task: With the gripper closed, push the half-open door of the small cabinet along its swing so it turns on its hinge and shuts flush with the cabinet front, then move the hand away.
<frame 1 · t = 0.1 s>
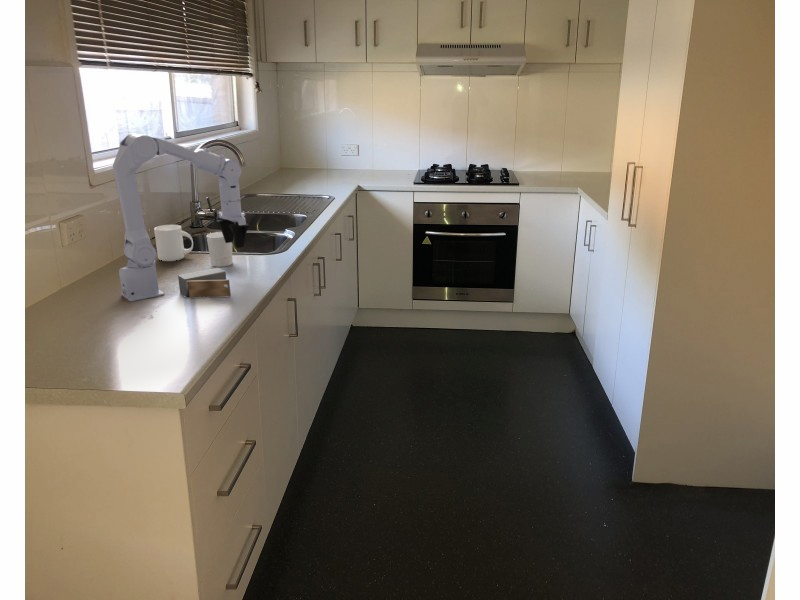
hand: (234, 244, 193), 10 cm above the countertop, tool pointing down, fingers open, 7 cm apart
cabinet: (203, 291, 183), on the countertop
mug: (176, 258, 217), on the countertop
cabinet door: (207, 289, 176), point 3 cm above the countertop, hinge at 35.0°
white cup: (222, 264, 209), on the countertop
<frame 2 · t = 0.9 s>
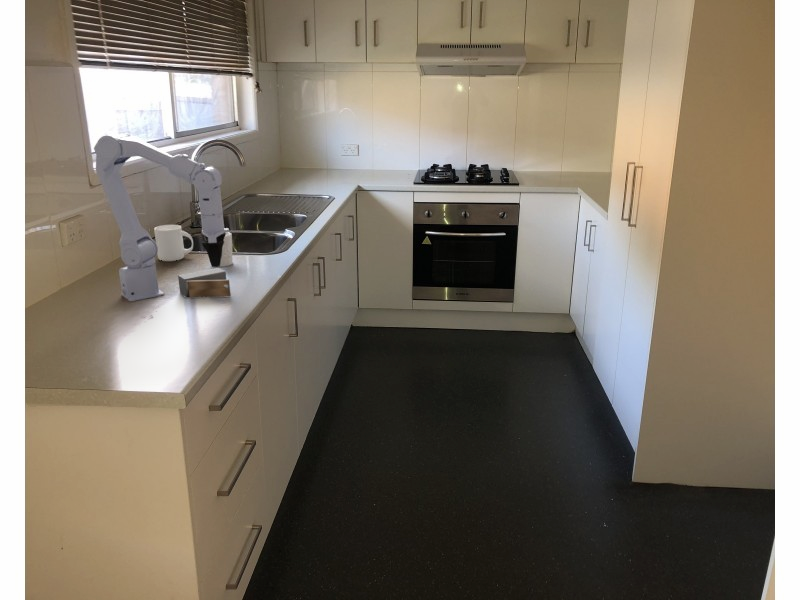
hand: (216, 262, 175), 10 cm above the countertop, tool pointing down, fingers open, 7 cm apart
nothing on the countertop moved.
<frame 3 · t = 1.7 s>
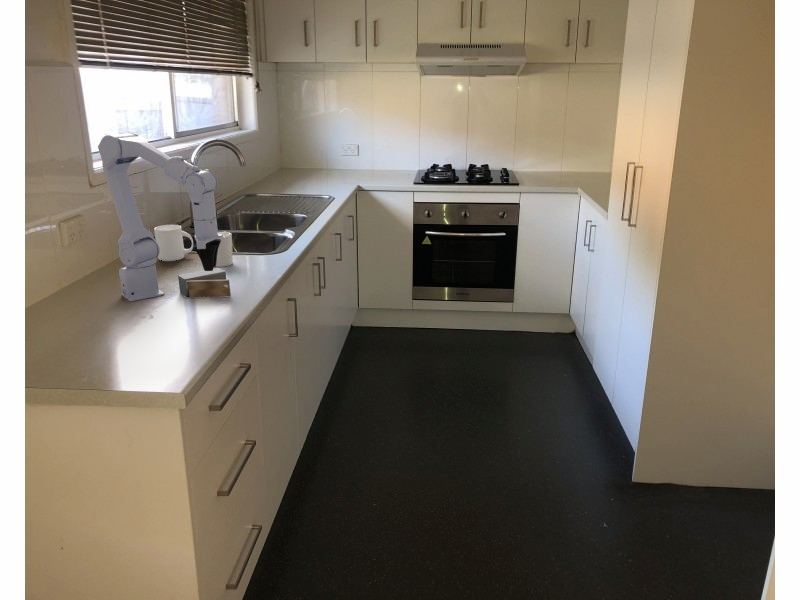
hand: (210, 268, 169), 10 cm above the countertop, tool pointing down, fingers open, 3 cm apart
nothing on the countertop moved.
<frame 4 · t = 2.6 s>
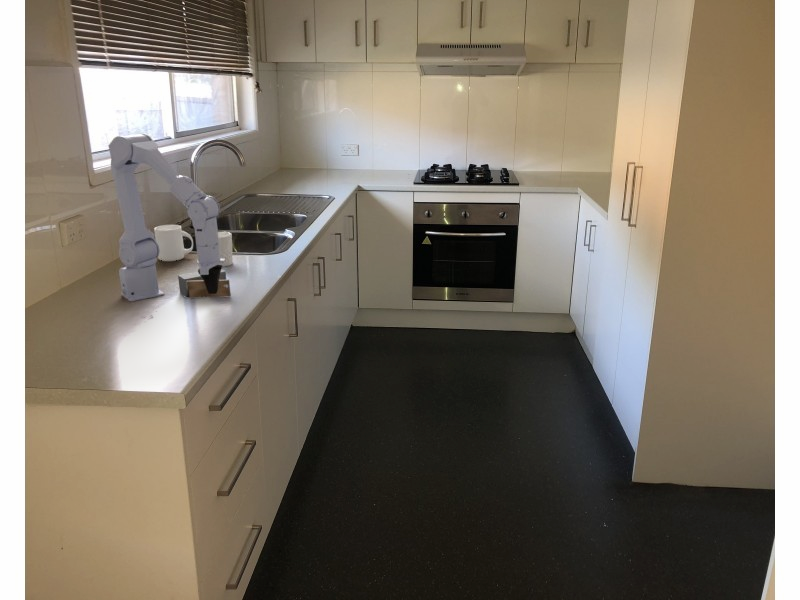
hand: (213, 293, 171), 3 cm above the countertop, tool pointing down, fingers closed
nothing on the countertop moved.
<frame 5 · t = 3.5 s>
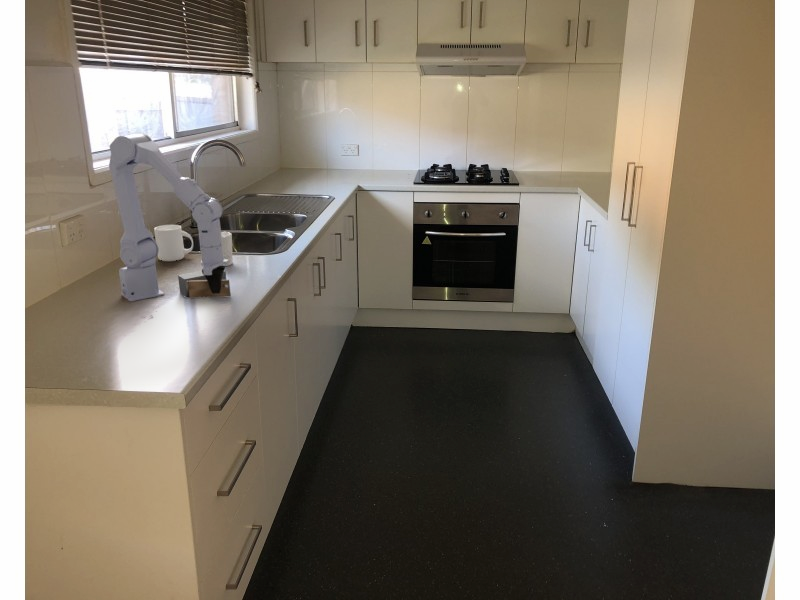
hand: (216, 292, 175), 2 cm above the countertop, tool pointing down, fingers closed
cabinet door: (207, 289, 176), point 3 cm above the countertop, hinge at 35.0°, touching gripper
everything else where it was.
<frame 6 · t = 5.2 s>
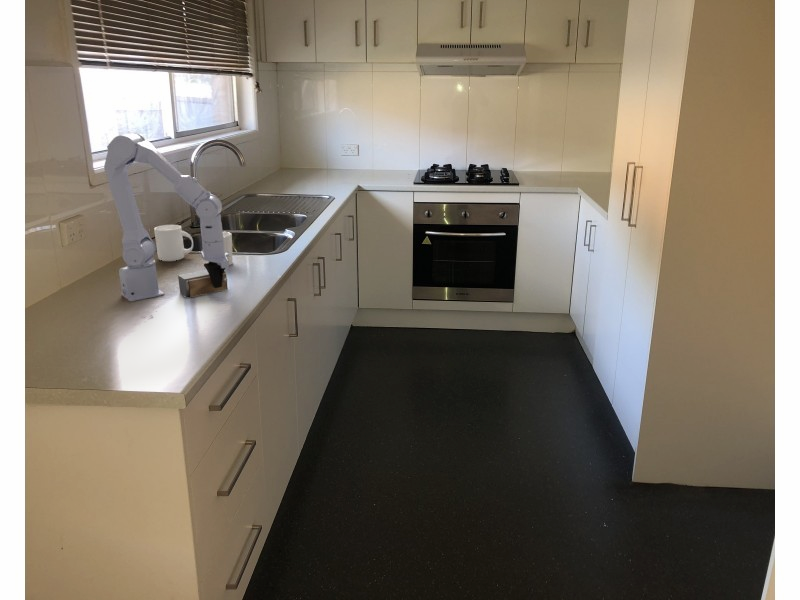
hand: (217, 287, 180), 2 cm above the countertop, tool pointing down, fingers closed
cabinet door: (207, 285, 179), point 3 cm above the countertop, hinge at -0.5°, touching gripper
everything else where it was.
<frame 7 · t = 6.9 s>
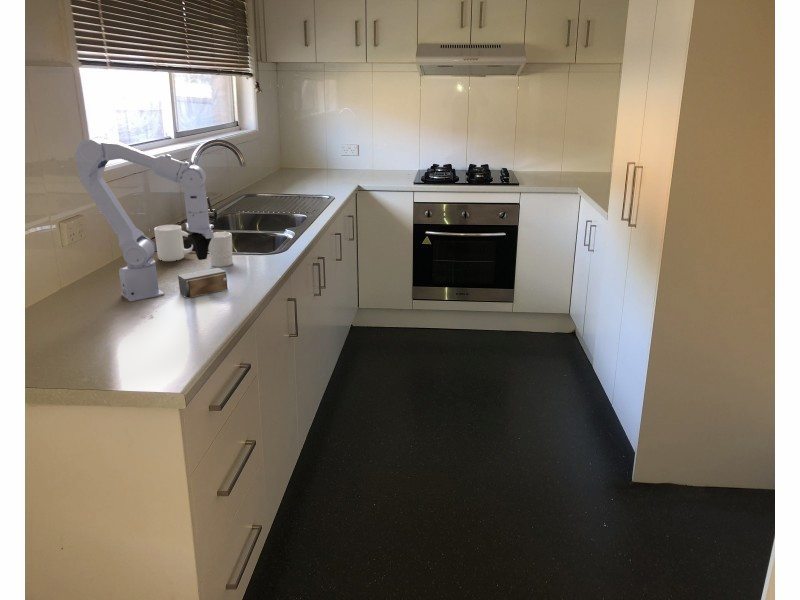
hand: (202, 259, 178), 10 cm above the countertop, tool pointing down, fingers closed
cabinet door: (207, 285, 179), point 3 cm above the countertop, hinge at -0.6°
everything else where it was.
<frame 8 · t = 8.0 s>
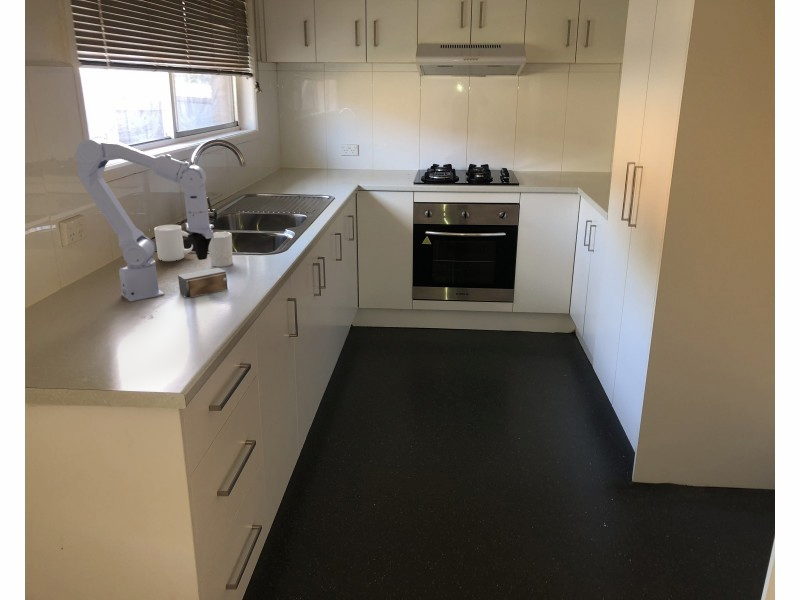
hand: (202, 259, 178), 10 cm above the countertop, tool pointing down, fingers closed
nothing on the countertop moved.
at the end: cabinet door at -1° (first picture: +35°) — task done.
